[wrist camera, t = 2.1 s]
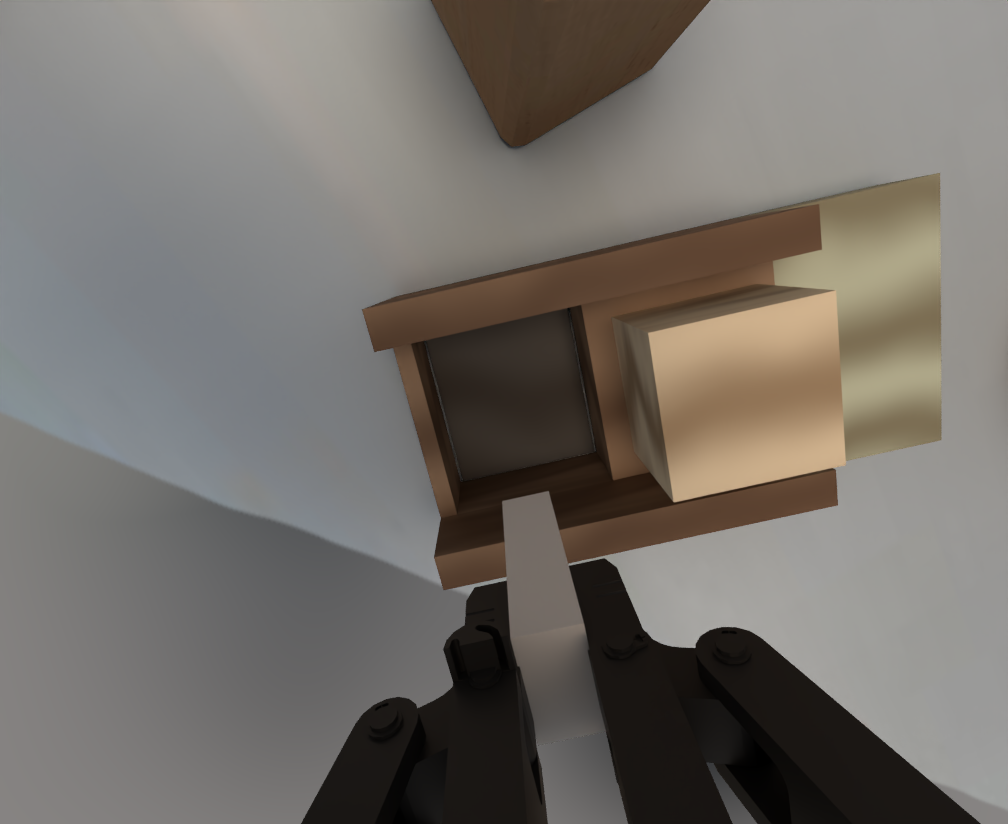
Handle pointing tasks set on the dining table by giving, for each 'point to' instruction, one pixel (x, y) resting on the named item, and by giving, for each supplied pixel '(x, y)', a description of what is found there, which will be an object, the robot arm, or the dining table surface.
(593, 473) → the chute
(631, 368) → the birch block
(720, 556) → the dining table surface
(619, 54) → the wooden block
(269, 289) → the dining table surface
